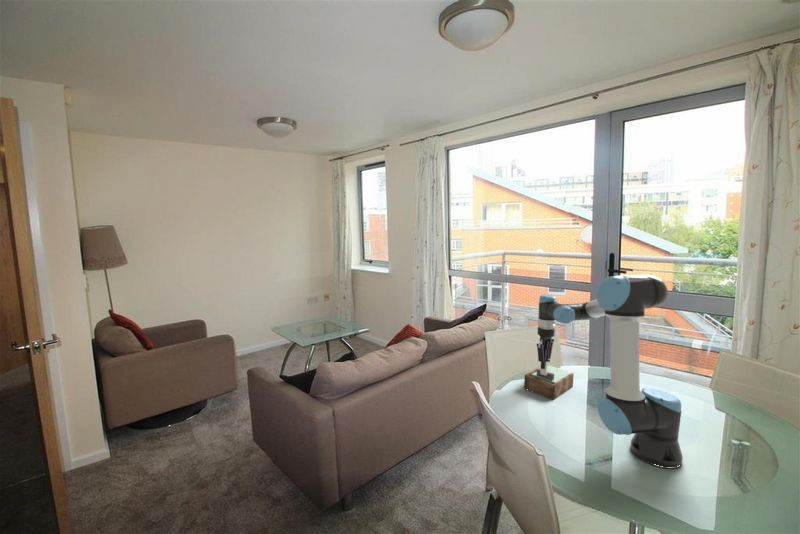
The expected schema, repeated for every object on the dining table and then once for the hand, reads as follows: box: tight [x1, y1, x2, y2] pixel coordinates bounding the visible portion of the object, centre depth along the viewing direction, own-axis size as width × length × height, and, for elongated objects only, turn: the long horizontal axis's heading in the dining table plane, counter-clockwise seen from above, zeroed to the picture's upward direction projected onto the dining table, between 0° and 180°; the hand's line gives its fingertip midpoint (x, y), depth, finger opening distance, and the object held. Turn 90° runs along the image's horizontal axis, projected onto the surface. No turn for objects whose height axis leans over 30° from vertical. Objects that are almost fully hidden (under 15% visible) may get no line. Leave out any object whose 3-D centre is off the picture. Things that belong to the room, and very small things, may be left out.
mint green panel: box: [532, 364, 573, 383], centre depth 180 cm, size 17×12×4 cm
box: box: [523, 366, 575, 401], centre depth 179 cm, size 20×15×7 cm
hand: (543, 374), depth 175 cm, fingers closed
